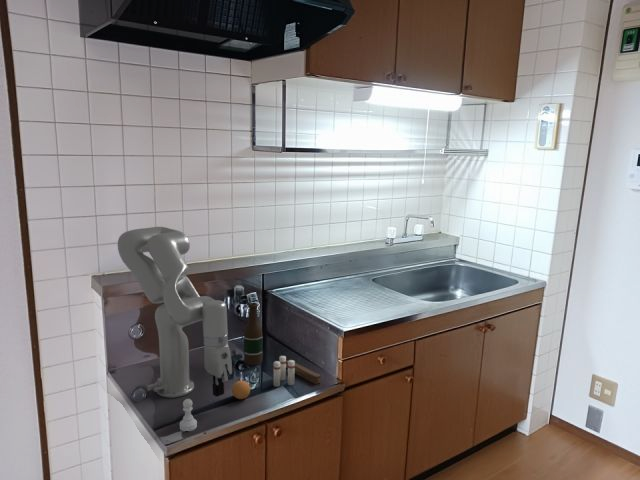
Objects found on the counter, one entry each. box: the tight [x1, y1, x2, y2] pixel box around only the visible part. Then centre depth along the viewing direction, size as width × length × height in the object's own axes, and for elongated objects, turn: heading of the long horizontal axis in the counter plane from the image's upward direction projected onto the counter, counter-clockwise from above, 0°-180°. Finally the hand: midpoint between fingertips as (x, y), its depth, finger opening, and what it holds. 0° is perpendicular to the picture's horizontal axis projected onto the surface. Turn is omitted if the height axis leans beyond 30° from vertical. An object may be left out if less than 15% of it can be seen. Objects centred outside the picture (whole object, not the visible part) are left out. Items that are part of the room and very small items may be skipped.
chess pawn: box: [179, 398, 198, 432], centre depth 146 cm, size 5×5×9 cm
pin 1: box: [278, 355, 287, 381], centre depth 179 cm, size 2×2×8 cm
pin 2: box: [287, 359, 296, 386], centre depth 176 cm, size 2×2×8 cm
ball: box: [232, 380, 251, 400], centre depth 165 cm, size 6×6×6 cm
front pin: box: [273, 360, 281, 387], centre depth 175 cm, size 2×2×8 cm
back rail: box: [286, 359, 322, 385], centre depth 183 cm, size 2×18×3 cm, turn 42°
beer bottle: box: [243, 302, 264, 366], centre depth 193 cm, size 8×8×24 cm
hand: (218, 394), depth 158 cm, fingers closed
